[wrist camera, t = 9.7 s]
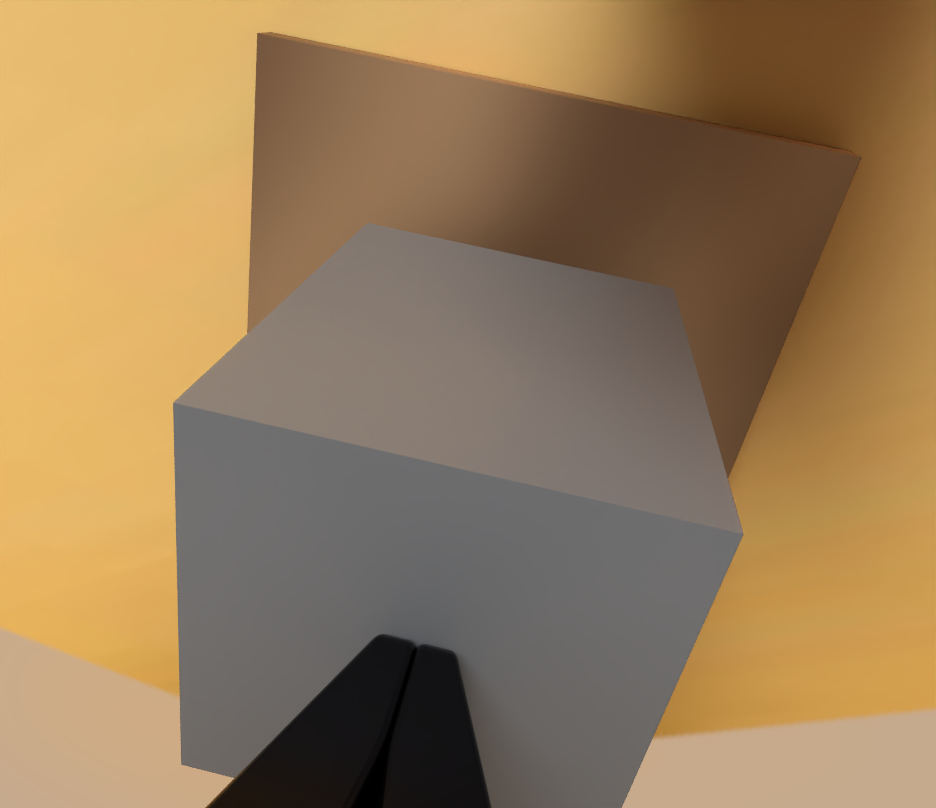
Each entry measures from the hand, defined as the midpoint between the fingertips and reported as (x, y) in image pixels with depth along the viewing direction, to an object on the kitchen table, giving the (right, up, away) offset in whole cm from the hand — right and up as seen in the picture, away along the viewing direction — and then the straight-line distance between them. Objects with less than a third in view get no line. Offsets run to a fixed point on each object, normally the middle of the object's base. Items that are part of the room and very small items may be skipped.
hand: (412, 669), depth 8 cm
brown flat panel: (+1, +4, +7) cm, 8 cm away
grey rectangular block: (+1, +3, +6) cm, 7 cm away
